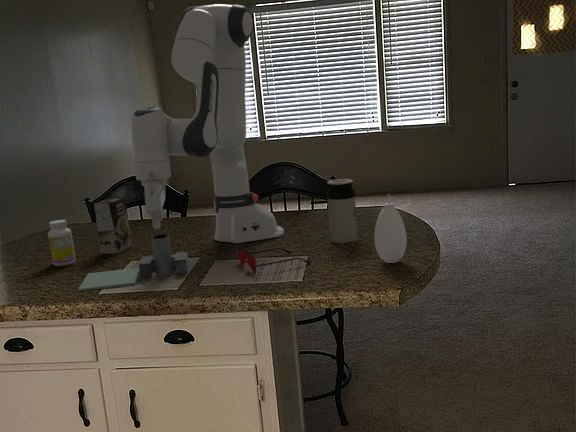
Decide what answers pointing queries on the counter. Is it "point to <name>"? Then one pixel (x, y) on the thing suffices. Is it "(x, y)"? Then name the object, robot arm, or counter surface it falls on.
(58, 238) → the supplement bottle
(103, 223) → the coffee box
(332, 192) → the travel mug
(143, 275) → the grey tube mount
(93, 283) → the mat
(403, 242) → the sauce bottle
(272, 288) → the counter surface
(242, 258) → the glasses
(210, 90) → the robot arm
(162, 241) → the grey cylinder
